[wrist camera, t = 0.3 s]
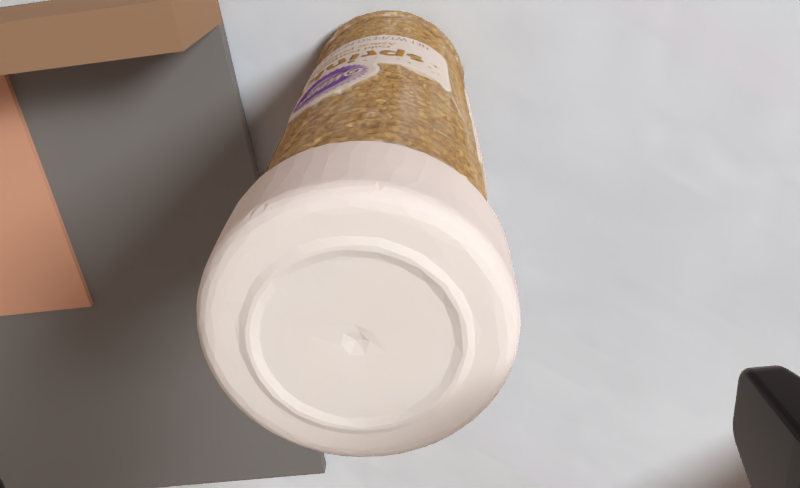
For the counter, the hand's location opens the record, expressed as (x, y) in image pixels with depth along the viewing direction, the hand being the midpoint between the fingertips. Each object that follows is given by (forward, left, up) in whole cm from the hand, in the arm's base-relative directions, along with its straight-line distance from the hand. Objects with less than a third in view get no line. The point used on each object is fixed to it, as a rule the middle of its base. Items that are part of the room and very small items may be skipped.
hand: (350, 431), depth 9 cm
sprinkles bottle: (0, 0, -15) cm, 15 cm away
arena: (-6, +12, -15) cm, 20 cm away
